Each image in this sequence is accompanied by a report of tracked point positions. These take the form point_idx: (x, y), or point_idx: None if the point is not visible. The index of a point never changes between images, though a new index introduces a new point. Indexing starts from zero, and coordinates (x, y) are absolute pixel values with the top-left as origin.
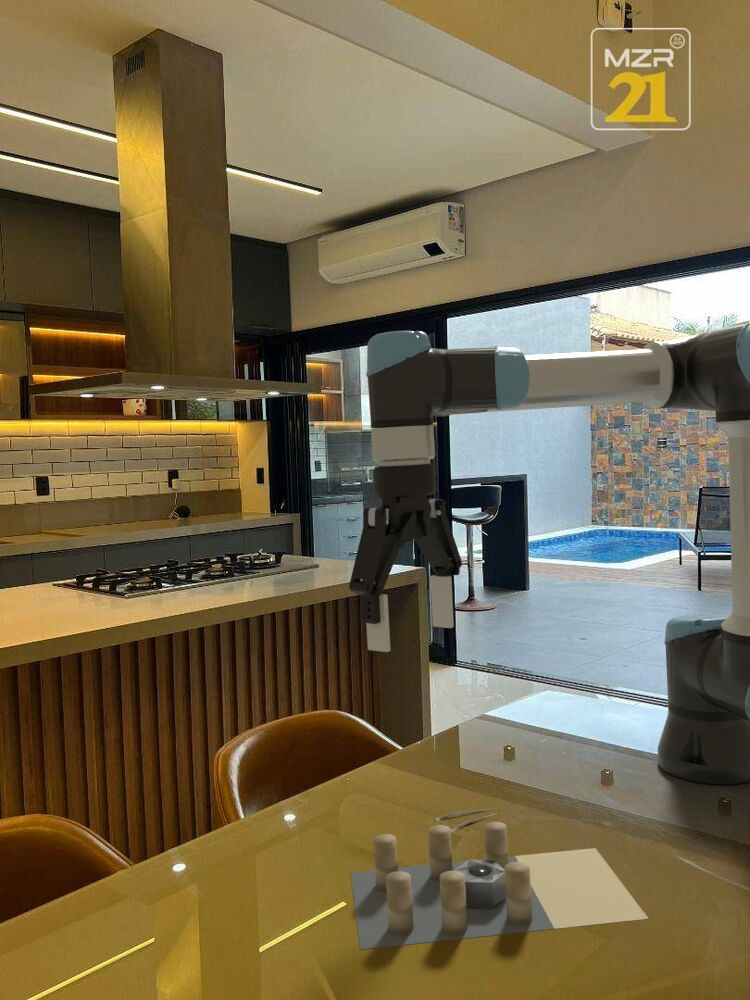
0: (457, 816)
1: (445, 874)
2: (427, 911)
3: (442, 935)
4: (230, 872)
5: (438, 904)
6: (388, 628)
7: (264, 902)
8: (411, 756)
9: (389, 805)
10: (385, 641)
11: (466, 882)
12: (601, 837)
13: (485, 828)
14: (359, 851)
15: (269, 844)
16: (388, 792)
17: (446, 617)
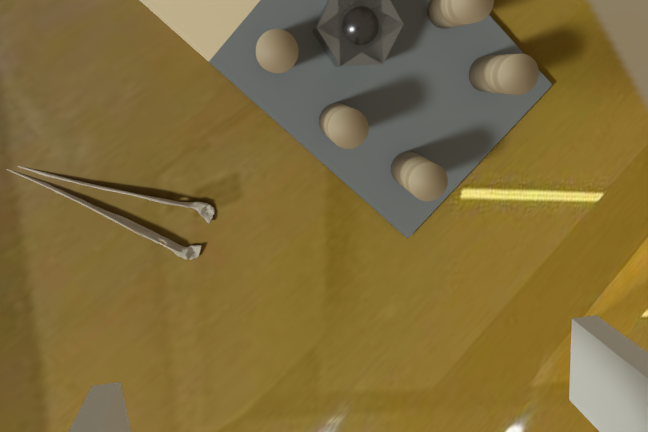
0: (151, 234)
1: (473, 15)
2: (431, 71)
3: None
4: (487, 373)
5: (407, 70)
6: (635, 363)
7: (519, 278)
8: None
9: (182, 360)
10: (621, 337)
11: (401, 23)
12: None
13: (294, 62)
14: (337, 282)
15: (399, 397)
16: (142, 398)
17: (112, 430)
